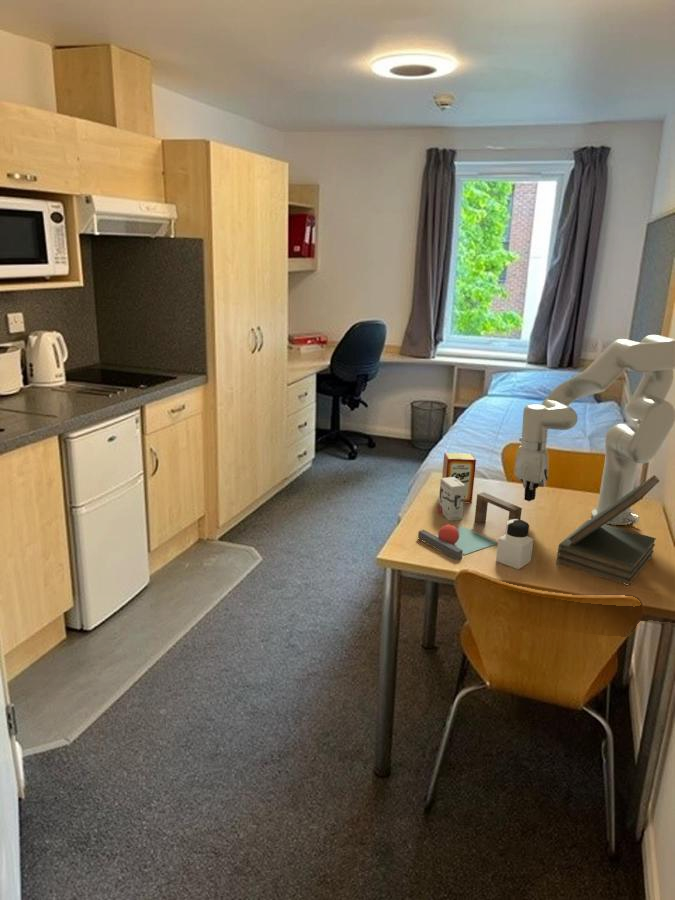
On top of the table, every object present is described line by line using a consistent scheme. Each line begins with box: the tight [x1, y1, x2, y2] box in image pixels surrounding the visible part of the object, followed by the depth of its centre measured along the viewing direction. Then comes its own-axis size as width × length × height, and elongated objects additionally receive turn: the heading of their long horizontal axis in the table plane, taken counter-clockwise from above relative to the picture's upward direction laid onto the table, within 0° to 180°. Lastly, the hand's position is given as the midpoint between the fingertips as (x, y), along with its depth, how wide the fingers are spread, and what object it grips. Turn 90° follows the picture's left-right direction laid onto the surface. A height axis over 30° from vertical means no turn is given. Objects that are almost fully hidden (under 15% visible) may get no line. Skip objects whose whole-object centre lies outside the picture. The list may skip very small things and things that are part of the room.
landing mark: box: [435, 526, 498, 556], centre depth 193 cm, size 14×14×1 cm
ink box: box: [437, 477, 465, 521], centre depth 209 cm, size 9×5×12 cm, turn 18°
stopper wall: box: [417, 529, 463, 560], centre depth 187 cm, size 16×2×2 cm, turn 35°
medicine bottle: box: [495, 519, 534, 570], centre depth 179 cm, size 7×7×12 cm
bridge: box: [473, 492, 523, 526], centre depth 199 cm, size 3×15×10 cm, turn 35°
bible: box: [555, 475, 660, 586], centre depth 180 cm, size 23×20×25 cm
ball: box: [437, 524, 459, 545], centre depth 189 cm, size 6×6×6 cm
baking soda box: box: [441, 452, 477, 504], centre depth 222 cm, size 10×6×16 cm
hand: (529, 499), depth 206 cm, fingers closed
